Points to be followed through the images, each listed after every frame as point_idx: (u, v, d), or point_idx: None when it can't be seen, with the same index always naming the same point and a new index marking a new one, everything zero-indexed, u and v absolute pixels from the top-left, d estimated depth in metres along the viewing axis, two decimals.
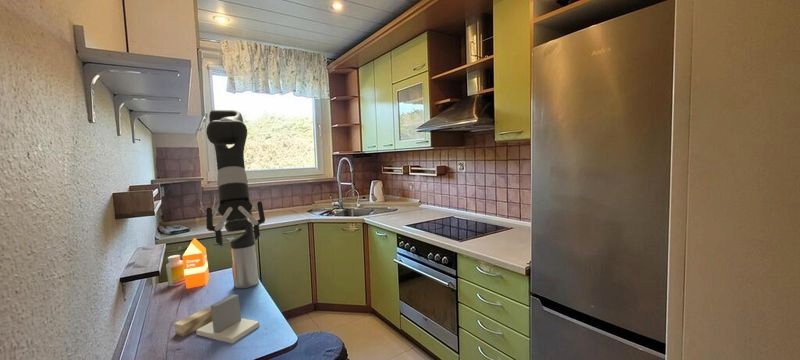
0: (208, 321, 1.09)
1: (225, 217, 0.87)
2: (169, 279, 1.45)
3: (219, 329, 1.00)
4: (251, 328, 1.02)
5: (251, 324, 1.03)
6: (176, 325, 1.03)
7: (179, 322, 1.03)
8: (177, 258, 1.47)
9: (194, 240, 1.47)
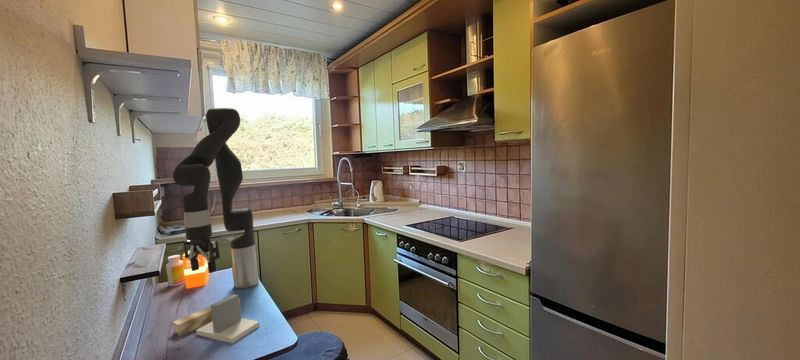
0: (207, 321, 1.09)
1: (191, 252, 1.09)
2: (169, 279, 1.45)
3: (219, 329, 1.00)
4: (251, 328, 1.02)
5: (251, 324, 1.03)
6: (174, 324, 1.04)
7: (177, 321, 1.04)
8: (177, 258, 1.47)
9: None
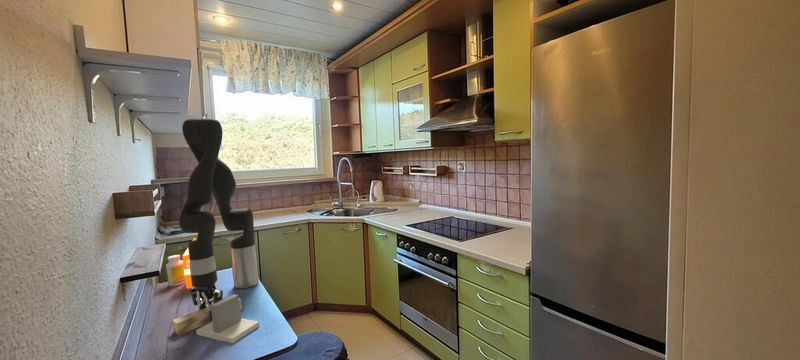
0: (206, 321, 1.09)
1: (198, 298, 1.10)
2: (169, 279, 1.45)
3: (219, 329, 1.00)
4: (251, 328, 1.02)
5: (251, 324, 1.03)
6: (173, 322, 1.04)
7: (176, 320, 1.05)
8: (177, 258, 1.47)
9: None
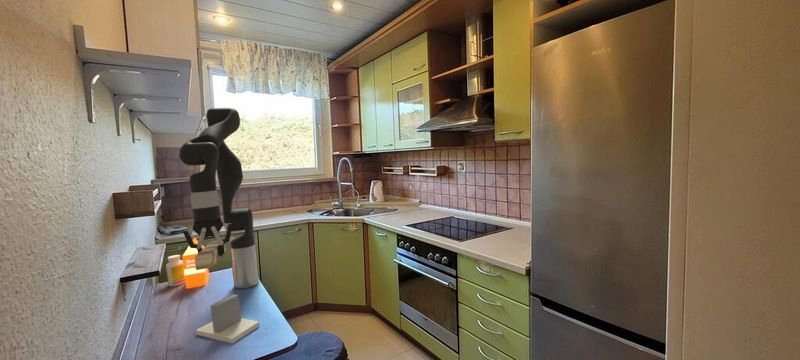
0: (217, 257, 1.04)
1: (202, 236, 1.02)
2: (169, 279, 1.45)
3: (219, 329, 1.00)
4: (251, 328, 1.02)
5: (251, 324, 1.03)
6: (198, 258, 0.95)
7: (200, 255, 0.96)
8: (177, 258, 1.47)
9: (194, 240, 1.47)
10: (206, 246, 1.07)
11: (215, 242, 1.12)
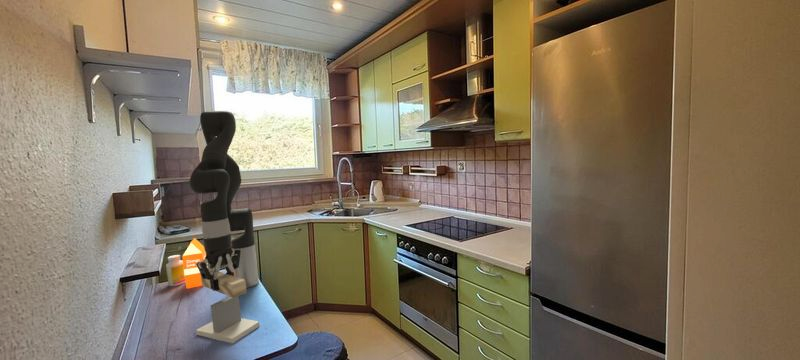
0: None
1: (218, 266, 0.99)
2: (169, 279, 1.45)
3: (219, 329, 1.00)
4: (251, 328, 1.02)
5: (251, 324, 1.03)
6: (235, 285, 0.96)
7: (235, 282, 0.96)
8: (177, 258, 1.47)
9: (194, 240, 1.47)
10: None
11: None
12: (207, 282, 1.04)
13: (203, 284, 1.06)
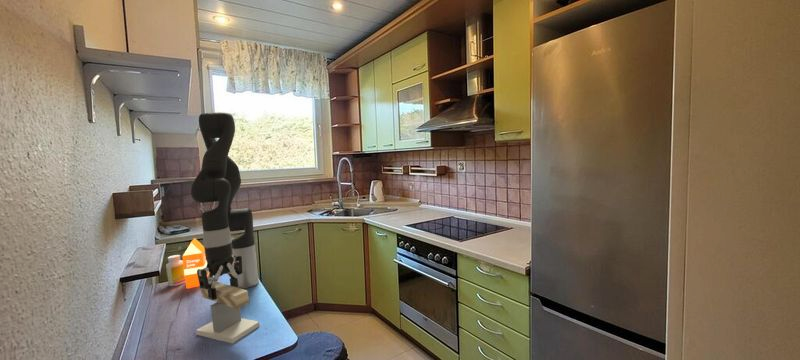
0: None
1: (218, 275, 0.99)
2: (169, 279, 1.45)
3: (219, 329, 1.00)
4: (251, 328, 1.02)
5: (251, 324, 1.03)
6: (238, 296, 0.96)
7: (237, 293, 0.97)
8: (177, 258, 1.47)
9: (194, 240, 1.47)
10: None
11: None
12: None
13: (203, 295, 1.06)
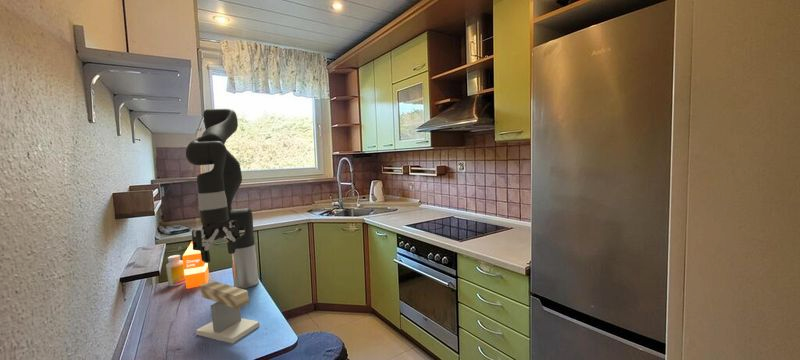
0: None
1: (213, 238, 0.98)
2: (169, 279, 1.45)
3: (219, 329, 1.00)
4: (251, 328, 1.02)
5: (251, 324, 1.03)
6: (238, 296, 0.96)
7: (237, 293, 0.97)
8: (177, 258, 1.47)
9: None
10: (213, 288, 1.02)
11: (210, 284, 1.06)
12: (208, 294, 1.04)
13: (203, 295, 1.06)
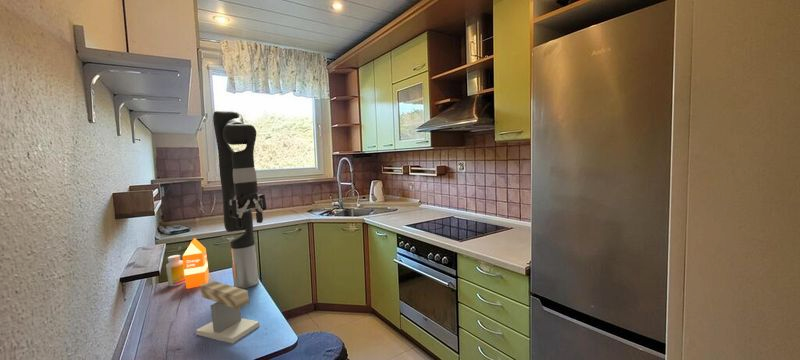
0: None
1: (245, 207, 1.14)
2: (169, 279, 1.45)
3: (219, 329, 1.00)
4: (251, 328, 1.02)
5: (251, 324, 1.03)
6: (238, 296, 0.96)
7: (237, 293, 0.97)
8: (177, 258, 1.47)
9: (194, 240, 1.47)
10: (213, 288, 1.02)
11: (210, 284, 1.06)
12: (208, 294, 1.04)
13: (203, 295, 1.06)
